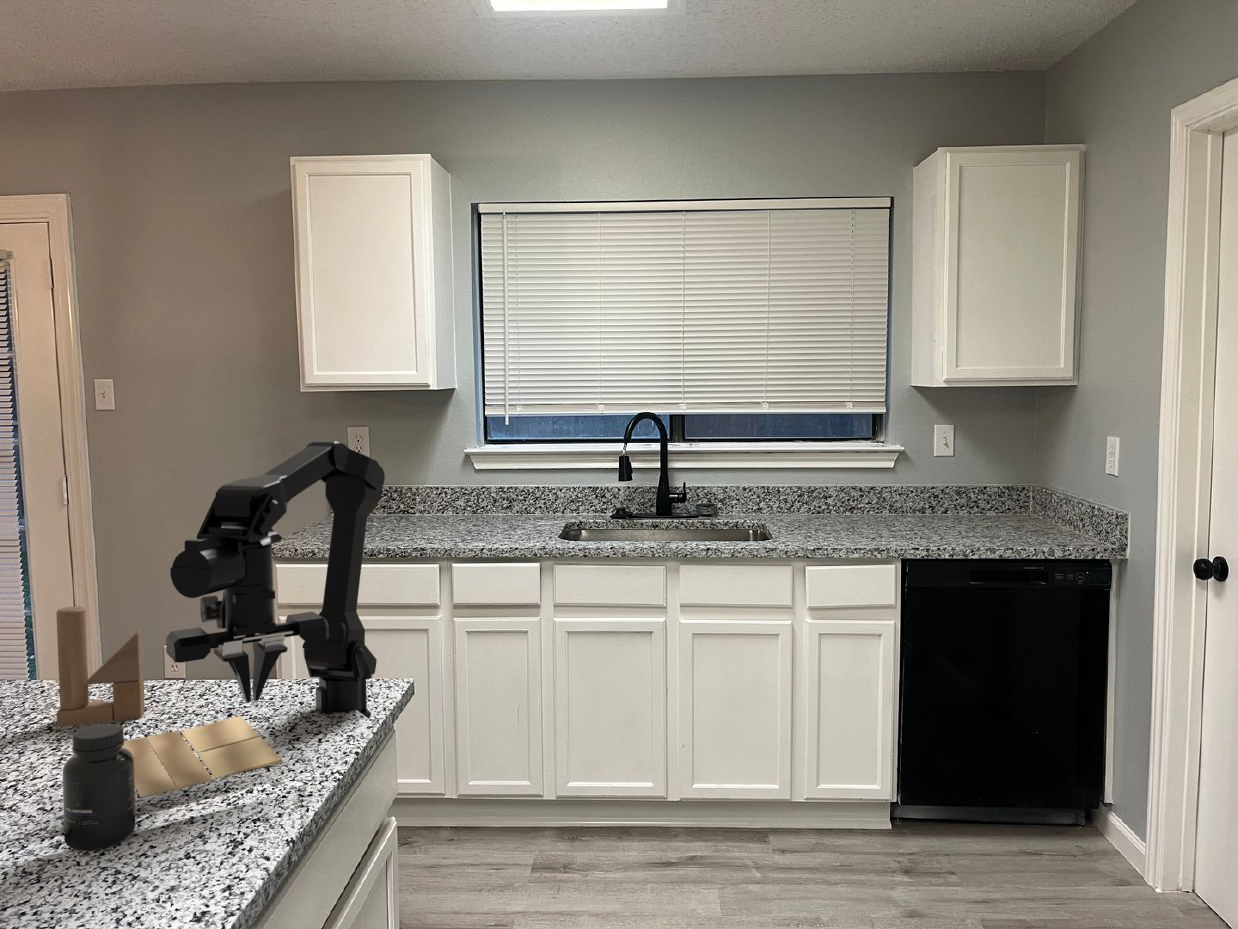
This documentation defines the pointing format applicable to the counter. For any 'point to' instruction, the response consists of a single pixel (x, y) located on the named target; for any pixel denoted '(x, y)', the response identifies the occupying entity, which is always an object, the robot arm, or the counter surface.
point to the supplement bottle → (98, 789)
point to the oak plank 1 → (219, 734)
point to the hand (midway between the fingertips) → (251, 701)
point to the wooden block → (96, 675)
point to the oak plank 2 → (239, 757)
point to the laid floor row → (165, 764)
